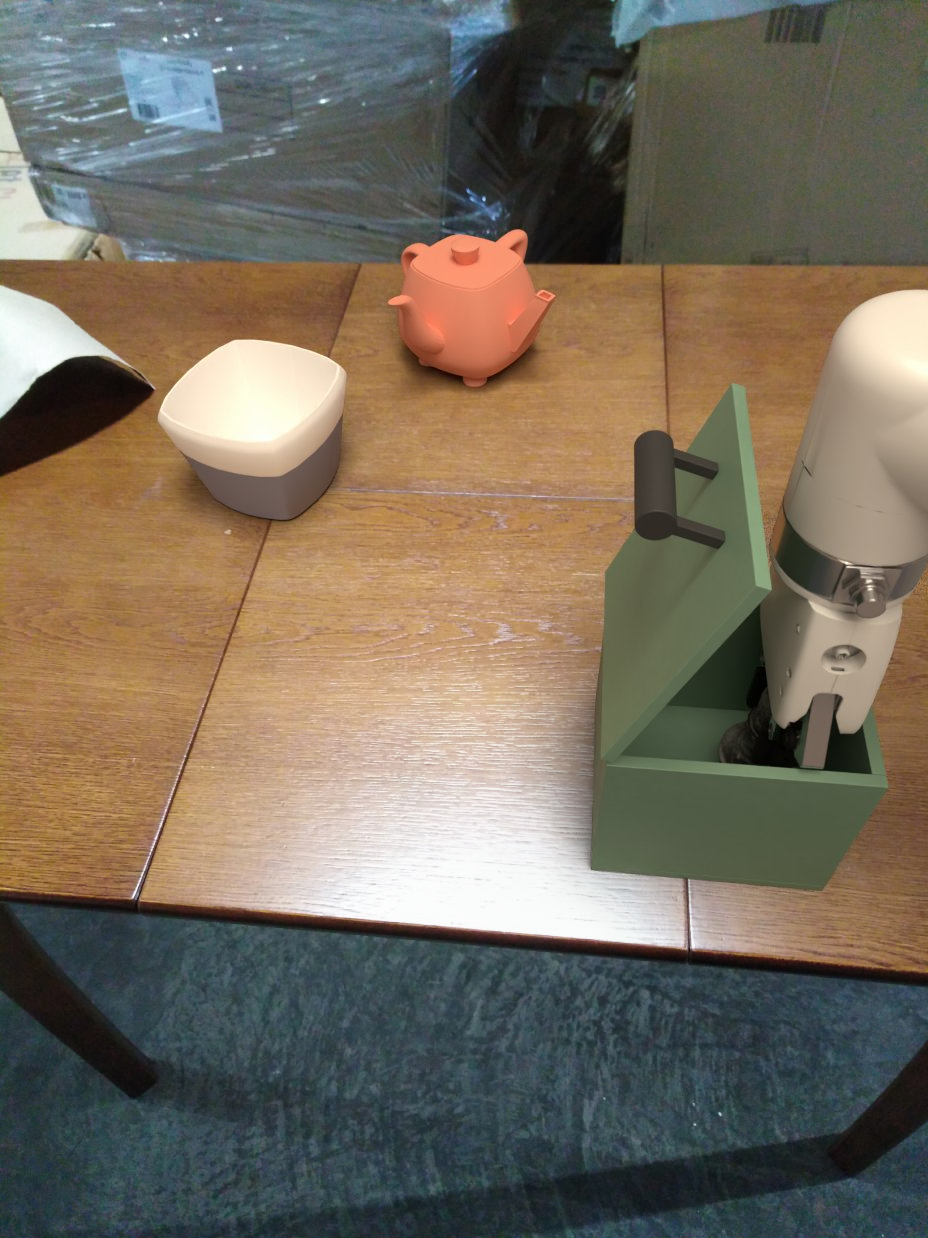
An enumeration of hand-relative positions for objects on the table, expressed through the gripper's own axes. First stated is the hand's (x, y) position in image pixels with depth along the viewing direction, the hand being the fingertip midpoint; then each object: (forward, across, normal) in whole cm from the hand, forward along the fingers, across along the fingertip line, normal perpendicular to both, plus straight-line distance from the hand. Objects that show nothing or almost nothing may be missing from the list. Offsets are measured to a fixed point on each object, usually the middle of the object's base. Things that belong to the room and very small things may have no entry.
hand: (773, 731), depth 59 cm
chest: (+8, 0, +4) cm, 9 cm away
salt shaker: (+7, 0, 0) cm, 7 cm away
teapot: (+8, +52, +27) cm, 59 cm away
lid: (-14, 0, +8) cm, 16 cm away
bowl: (+8, +31, +44) cm, 55 cm away
